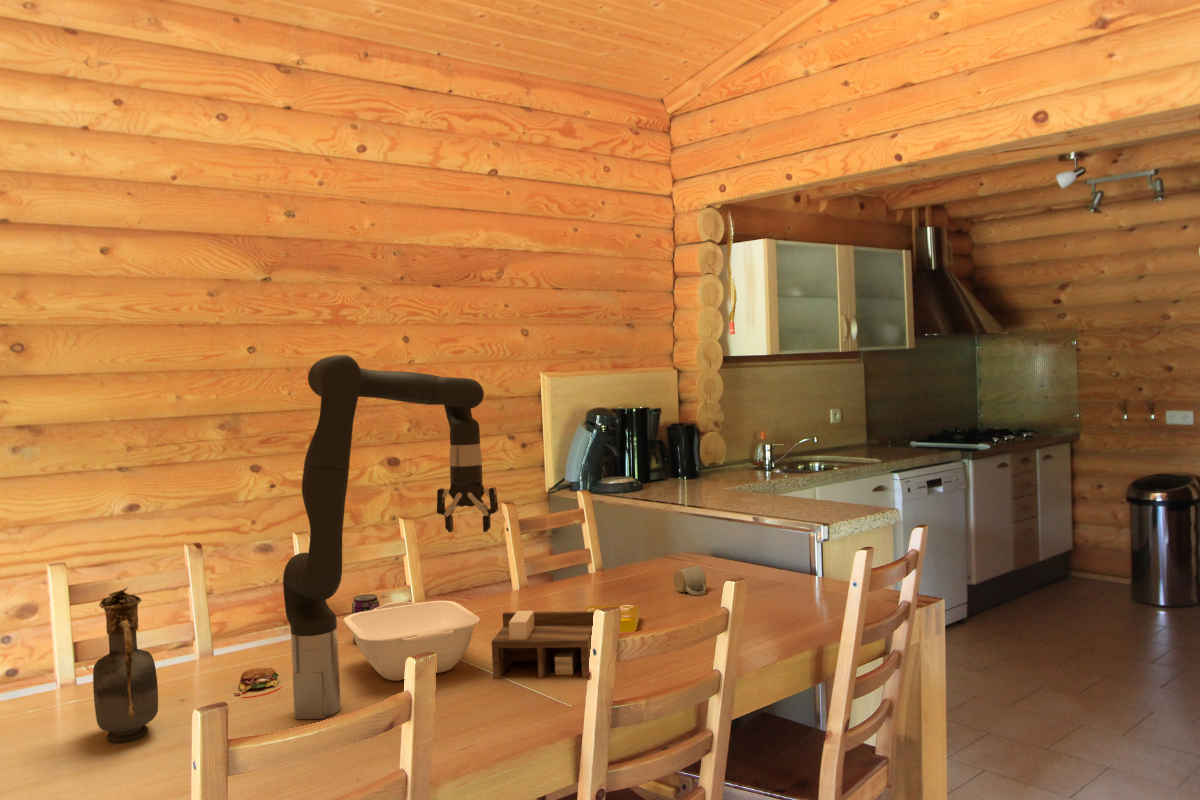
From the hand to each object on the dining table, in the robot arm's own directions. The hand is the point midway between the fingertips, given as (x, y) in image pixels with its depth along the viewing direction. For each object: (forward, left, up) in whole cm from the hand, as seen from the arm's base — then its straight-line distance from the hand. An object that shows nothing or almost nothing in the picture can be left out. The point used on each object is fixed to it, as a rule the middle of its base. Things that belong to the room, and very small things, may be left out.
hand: (468, 531), depth 212 cm
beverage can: (+22, +35, -33) cm, 53 cm away
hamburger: (-13, +48, -33) cm, 60 cm away
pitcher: (-42, +60, -33) cm, 80 cm away
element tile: (+35, -29, -33) cm, 56 cm away
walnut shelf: (-1, -17, -33) cm, 37 cm away
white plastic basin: (-1, +15, -33) cm, 36 cm away
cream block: (-1, -12, -24) cm, 27 cm away
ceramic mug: (+71, -52, -33) cm, 94 cm away
